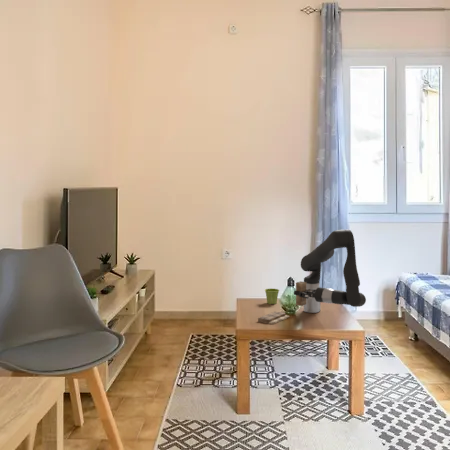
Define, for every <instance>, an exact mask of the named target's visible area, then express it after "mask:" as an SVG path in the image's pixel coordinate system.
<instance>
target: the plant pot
mask: <svg viewBox="0 0 450 450" xmlns="http://www.w3.org/2000/svg"><path fill="white" fill-rule="evenodd" d="M264 291H265V295H266V303H267V304H268V305H271V304H272V305H276V304H277V302H278V296H279V292H280V289H278V288H266V289H265V288H264Z"/></svg>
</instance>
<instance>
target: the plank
mask: <svg viewBox="0 0 450 450" xmlns="http://www.w3.org/2000/svg"><path fill="white" fill-rule="evenodd" d="M295 291H306V282H304V281H297V282H295ZM302 295H303V294H302ZM295 305H296V306H301V307H302V306H303V307H304V305H306V298H303V297H299V295H295Z"/></svg>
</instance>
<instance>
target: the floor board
mask: <svg viewBox="0 0 450 450" xmlns="http://www.w3.org/2000/svg"><path fill="white" fill-rule="evenodd" d="M289 318H290V315H287V314H286V313H285V312H280V311H273V312H270V313H268V314H264V315H262V316H260V317H258V318H257V322H258V323H263V324H264V323H265V324H269V325H270V324H271V325H274V324H276V323H279V322H281V321H284V320H286V319H289Z"/></svg>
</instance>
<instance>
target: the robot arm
mask: <svg viewBox="0 0 450 450" xmlns="http://www.w3.org/2000/svg"><path fill="white" fill-rule="evenodd" d="M344 248H346V254H347V255H346V260H345V263H344V266H343V270H342V271H343V272H342V273H343V277H344V283H345V290H340V289H333V288H327V287H320V281H321V271H322V268H321V267H322V263H324V262H327V261H329V260H330V259H331V258H332V257H333V256H334V254H335V250H336V249H344ZM357 267H358V266H357V256H356V244H355V238H354V233H353V231H352V230H351V229H337V230H333V231H332V232H330V234H329V235H328V236H327V237H326V239H325V240H324V241H323V242H321V243H320V244H319V245H318V246H316V248H315V249H313V250H312V251H310V252H309V253H308V254H306V255H304V256H303V257H302V258H301V259H300V268H301V269H302V270H303V272H311V273H310V274H309V275H306V276H305V277H304V278H303V282H306V291H296V290H293V295H294V296H296V295H299V297H303V298H306V305H303V312H305V313H309V314H312V313H313V314H315V313H316V314H317V313H320V311H321V303H322V304H323V303H325V304H334V305H347V306H351V307H354V308H356V307H357V308H358V307H362V306H364V305H365V304H366V301H367V299H366V296H365V295H364V294H363V293H362V292H360V289H359V287H360V285H361V282H360V277H359V272H358V269H357ZM302 294H303V295H302Z"/></svg>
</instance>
